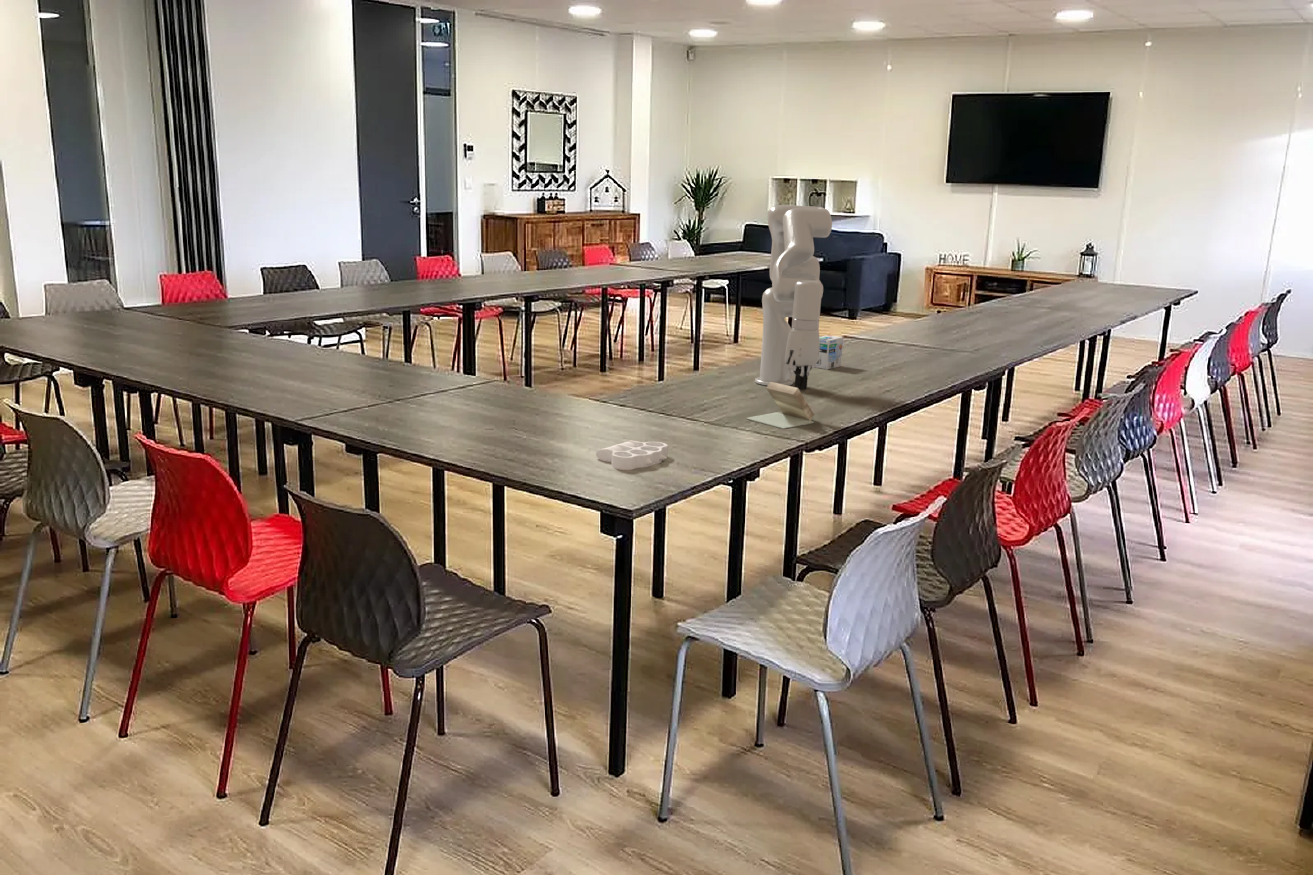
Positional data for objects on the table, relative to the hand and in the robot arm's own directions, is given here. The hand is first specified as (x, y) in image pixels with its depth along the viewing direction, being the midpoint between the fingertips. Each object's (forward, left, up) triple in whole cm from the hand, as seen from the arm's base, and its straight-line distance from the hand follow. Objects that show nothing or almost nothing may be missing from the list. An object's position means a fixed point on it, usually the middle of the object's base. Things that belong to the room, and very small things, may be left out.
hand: (800, 389), depth 302 cm
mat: (+8, 0, -8) cm, 12 cm away
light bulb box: (-71, -47, -8) cm, 86 cm away
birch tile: (0, 0, -8) cm, 8 cm away
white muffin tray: (+69, +7, -9) cm, 70 cm away
